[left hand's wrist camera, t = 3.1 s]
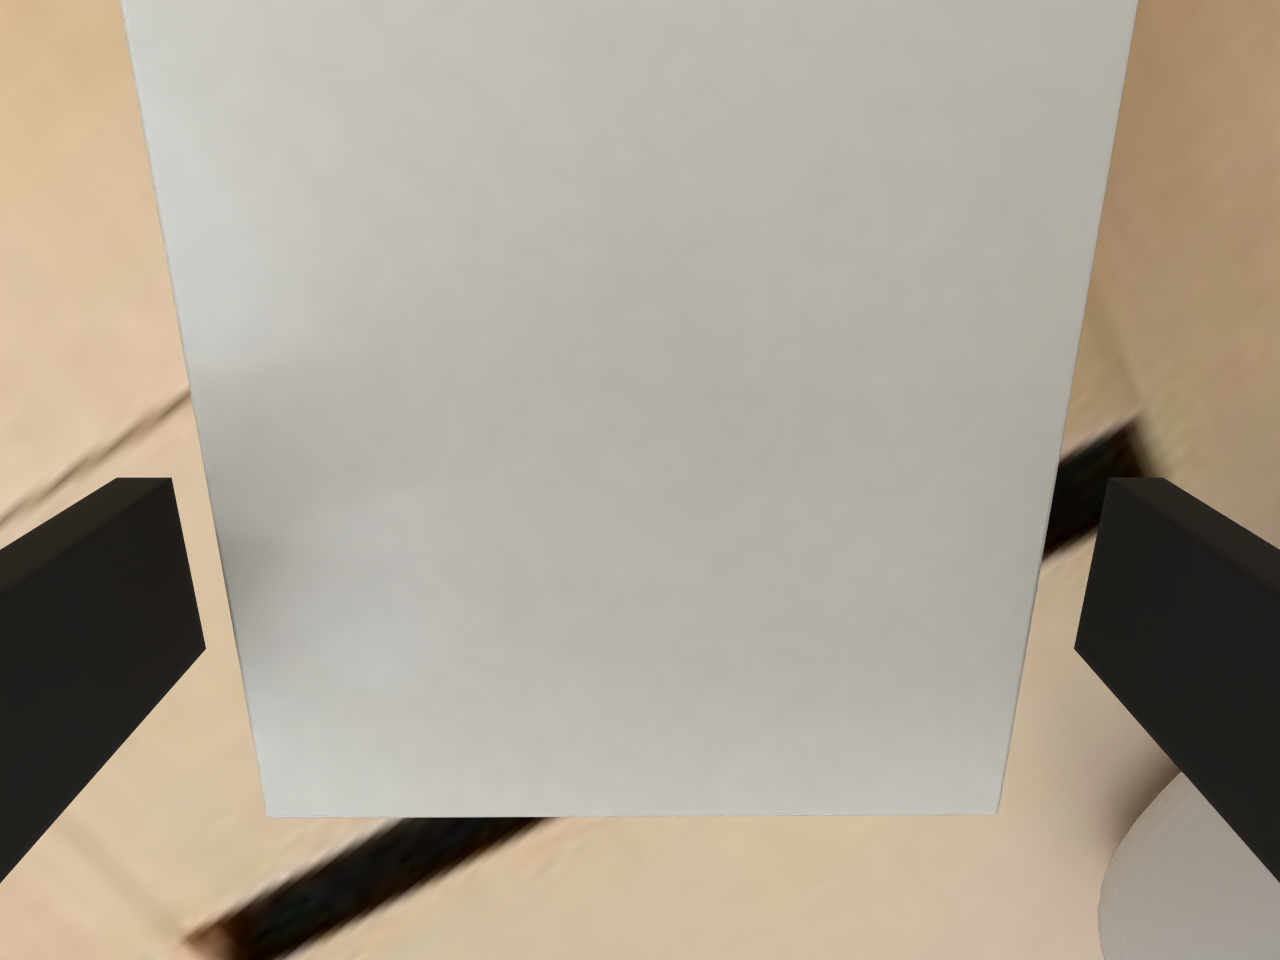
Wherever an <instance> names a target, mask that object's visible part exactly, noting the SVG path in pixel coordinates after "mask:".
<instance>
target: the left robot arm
mask: <svg viewBox="0 0 1280 960" xmlns="http://www.w3.org/2000/svg"><path fill="white" fill-rule="evenodd" d="M205 649H206V647H205V642H204V637H203V632H202V627H201V622H200V617H199V612H198V607H197V602H196V597H195V592H194V587H193V582H192V577H191V572H190V567H189V562H188V557H187V552H186V547H185V542H184V537H183V533H182V528H181V523H180V518H179V513H178V508H177V503H176V498H175V493H174V488H173V483H172V478H116V479H114V480H112V481H111V482H109V483H107V484H106V485H104V486H103V487H101V488H99V489H98V490H96V491H95V492H93V493H91V494H90V495H88V496H86V497H85V498H83V499H82V500H80V501H78V502H77V503H75V504H74V505H72V506H70V507H69V508H67V509H65V510H64V511H62V512H61V513H59V514H57V515H56V516H54V517H53V518H51V519H49V520H48V521H46V522H44V523H43V524H41V525H40V526H38V527H36V528H35V529H33V530H32V531H30V532H28V533H27V534H25V535H23V536H22V537H20V538H19V539H17V540H15V541H14V542H12V543H11V544H9V545H7V546H6V547H4V548H2V549H1V550H0V883H1V882H2V881H3V879H4V878H5V877H6V876H7V875H8V874H9V873H10V871H11V870H12V869H13V868H14V867H15V866H16V865H17V863H18V862H19V861H20V860H21V859H22V858H23V857H24V855H25V854H26V853H27V852H28V851H29V850H30V849H31V848H32V846H33V845H34V844H35V843H36V842H37V841H38V840H39V838H40V837H41V836H42V835H43V834H44V833H45V832H46V830H47V829H48V828H49V827H50V826H51V825H52V824H53V822H54V821H55V820H56V819H57V818H58V817H59V816H60V814H61V813H62V812H63V811H64V810H65V809H66V808H67V806H68V805H69V804H70V803H71V802H72V801H73V800H74V798H75V797H76V796H77V795H78V794H79V793H80V792H81V791H82V789H83V788H84V787H85V786H86V785H87V784H88V783H89V781H90V780H91V779H92V778H93V777H94V776H95V775H96V773H97V772H98V771H99V770H100V769H101V768H102V767H103V765H104V764H105V763H106V762H107V761H108V760H109V759H110V757H111V756H112V755H113V754H114V753H115V752H116V751H117V749H118V748H119V747H120V746H121V745H122V744H123V743H124V741H125V740H126V739H127V738H128V737H129V736H130V735H131V734H132V732H133V731H134V730H135V729H136V728H137V727H138V726H139V724H140V723H141V722H142V721H143V720H144V719H145V718H146V716H147V715H148V714H149V713H150V712H151V711H152V710H153V708H154V707H155V706H156V705H157V704H158V703H159V702H160V700H161V699H162V698H163V697H164V696H165V695H166V694H167V692H168V691H169V690H170V689H171V688H172V687H173V686H174V684H175V683H176V682H177V681H178V680H179V679H180V678H181V677H182V675H183V674H184V673H185V672H186V671H187V670H188V669H189V667H190V666H191V665H192V664H193V663H194V662H195V661H196V659H197V658H198V657H199V656H200V655H201V654H202V653H203V651H204V650H205ZM1074 649H1075V650H1076V651H1077V653H1078V654H1079V655H1080V656H1081V657H1082V658H1083V659H1084V661H1085V662H1086V663H1087V664H1088V665H1089V666H1090V667H1091V669H1092V670H1093V671H1094V672H1095V673H1096V674H1097V675H1098V677H1099V678H1100V679H1101V680H1102V681H1103V682H1104V683H1105V684H1106V686H1107V687H1108V688H1109V689H1110V690H1111V691H1112V692H1113V694H1114V695H1115V696H1116V697H1117V698H1118V699H1119V700H1120V702H1121V703H1122V704H1123V705H1124V706H1125V707H1126V708H1127V710H1128V711H1129V712H1130V713H1131V714H1132V715H1133V716H1134V718H1135V719H1136V720H1137V721H1138V722H1139V723H1140V724H1141V726H1142V727H1143V728H1144V729H1145V730H1146V731H1147V732H1148V734H1149V735H1150V736H1151V737H1152V738H1153V739H1154V740H1155V741H1156V743H1157V744H1158V745H1159V746H1160V747H1161V748H1162V749H1163V751H1164V752H1165V753H1166V754H1167V755H1168V756H1169V757H1170V759H1171V760H1172V761H1173V762H1174V763H1175V764H1176V765H1177V767H1178V768H1179V769H1180V770H1181V771H1182V772H1183V773H1184V775H1185V776H1186V777H1187V778H1188V779H1189V780H1190V781H1191V783H1192V784H1193V785H1194V786H1195V787H1196V788H1197V789H1198V791H1199V792H1200V793H1201V794H1202V795H1203V796H1204V797H1205V798H1206V800H1207V801H1208V802H1209V803H1210V804H1211V805H1212V806H1213V808H1214V809H1215V810H1216V811H1217V812H1218V813H1219V814H1220V816H1221V817H1222V818H1223V819H1224V820H1225V821H1226V822H1227V824H1228V825H1229V826H1230V827H1231V828H1232V829H1233V830H1234V832H1235V833H1236V834H1237V835H1238V836H1239V837H1240V838H1241V840H1242V841H1243V842H1244V843H1245V844H1246V845H1247V846H1248V848H1249V849H1250V850H1251V851H1252V852H1253V853H1254V854H1255V855H1256V857H1257V858H1258V859H1259V860H1260V861H1261V862H1262V863H1263V865H1264V866H1265V867H1266V868H1267V869H1268V870H1269V871H1270V873H1271V874H1272V875H1273V876H1274V877H1275V878H1276V879H1277V881H1278V882H1279V883H1280V550H1279V549H1278V548H1276V547H1274V546H1273V545H1271V544H1269V543H1268V542H1266V541H1265V540H1263V539H1261V538H1260V537H1258V536H1257V535H1255V534H1253V533H1252V532H1250V531H1248V530H1247V529H1245V528H1244V527H1242V526H1240V525H1239V524H1237V523H1236V522H1234V521H1232V520H1231V519H1229V518H1227V517H1226V516H1224V515H1223V514H1221V513H1219V512H1218V511H1216V510H1215V509H1213V508H1211V507H1210V506H1208V505H1206V504H1205V503H1203V502H1202V501H1200V500H1198V499H1197V498H1195V497H1194V496H1192V495H1190V494H1189V493H1187V492H1185V491H1184V490H1182V489H1181V488H1179V487H1177V486H1176V485H1174V484H1173V483H1171V482H1169V481H1168V480H1166V479H1164V478H1108V483H1107V488H1106V493H1105V498H1104V503H1103V508H1102V513H1101V518H1100V523H1099V528H1098V533H1097V537H1096V542H1095V547H1094V552H1093V557H1092V562H1091V567H1090V572H1089V577H1088V582H1087V587H1086V592H1085V597H1084V602H1083V607H1082V612H1081V617H1080V622H1079V627H1078V632H1077V637H1076V642H1075V647H1074Z"/></svg>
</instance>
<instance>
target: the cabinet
mask: <svg viewBox="0 0 1280 960" xmlns="http://www.w3.org/2000/svg"><path fill="white" fill-rule="evenodd" d="M120 4H121V10H122V15H123V21H124V27H125V32H126V38H127V43H128V49H129V54H130V60H131V65H132V71H133V76H134V82H135V87H136V93H137V99H138V104H139V110H140V115H141V121H142V126H143V132H144V137H145V143H146V148H147V154H148V160H149V165H150V171H151V176H152V182H153V187H154V193H155V198H156V204H157V209H158V215H159V220H160V226H161V232H162V237H163V243H164V248H165V254H166V259H167V265H168V270H169V276H170V281H171V287H172V293H173V298H174V304H175V309H176V315H177V320H178V326H179V331H180V337H181V342H182V348H183V353H184V359H185V365H186V370H187V376H188V381H189V387H190V392H191V398H192V403H193V409H194V414H195V420H196V425H197V431H198V437H199V442H200V448H201V453H202V459H203V464H204V470H205V475H206V481H207V486H208V492H209V498H210V503H211V509H212V514H213V520H214V525H215V531H216V536H217V542H218V547H219V553H220V558H221V564H222V570H223V575H224V581H225V586H226V592H227V597H228V603H229V608H230V614H231V619H232V625H233V630H234V636H235V642H236V647H237V653H238V658H239V664H240V669H241V675H242V680H243V686H244V691H245V697H246V703H247V708H248V714H249V719H250V725H251V730H252V736H253V741H254V747H255V752H256V758H257V763H258V769H259V775H260V780H261V786H262V791H263V797H264V802H265V808H266V813H267V816H268V817H271V818H351V817H609V816H867V815H995V814H997V813H998V810H999V804H1000V799H1001V793H1002V787H1003V781H1004V775H1005V770H1006V764H1007V758H1008V752H1009V746H1010V741H1011V735H1012V729H1013V723H1014V718H1015V712H1016V706H1017V700H1018V694H1019V689H1020V683H1021V677H1022V671H1023V665H1024V660H1025V654H1026V648H1027V642H1028V637H1029V631H1030V625H1031V619H1032V613H1033V608H1034V602H1035V596H1036V590H1037V585H1038V579H1039V573H1040V567H1041V561H1042V556H1043V550H1044V544H1045V538H1046V532H1047V527H1048V521H1049V515H1050V509H1051V504H1052V498H1053V492H1054V486H1055V480H1056V475H1057V469H1058V463H1059V457H1060V451H1061V446H1062V440H1063V434H1064V428H1065V423H1066V417H1067V411H1068V405H1069V399H1070V394H1071V388H1072V382H1073V376H1074V370H1075V365H1076V359H1077V353H1078V347H1079V342H1080V336H1081V330H1082V324H1083V318H1084V313H1085V307H1086V301H1087V295H1088V290H1089V284H1090V278H1091V272H1092V266H1093V261H1094V255H1095V249H1096V243H1097V237H1098V232H1099V226H1100V220H1101V214H1102V209H1103V203H1104V197H1105V191H1106V185H1107V180H1108V174H1109V168H1110V162H1111V156H1112V151H1113V145H1114V139H1115V133H1116V128H1117V122H1118V116H1119V110H1120V104H1121V99H1122V93H1123V87H1124V81H1125V76H1126V70H1127V64H1128V58H1129V52H1130V47H1131V41H1132V35H1133V29H1134V23H1135V18H1136V12H1137V6H1138V0H120Z"/></svg>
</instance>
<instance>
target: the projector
mask: <svg viewBox="0 0 1280 960" xmlns="http://www.w3.org/2000/svg"><path fill="white" fill-rule="evenodd" d="M1098 929H1099V937H1100V945H1101V949H1102V953H1103V957H1104V960H1280V883H1279V882H1278V881H1277V879H1276V878H1275V877H1274V876H1273V875H1272V874H1271V873H1270V871H1269V870H1268V869H1267V868H1266V867H1265V866H1264V865H1263V863H1262V862H1261V861H1260V860H1259V859H1258V858H1257V857H1256V855H1255V854H1254V853H1253V852H1252V851H1251V850H1250V849H1249V848H1248V846H1247V845H1246V844H1245V843H1244V842H1243V841H1242V840H1241V838H1240V837H1239V836H1238V835H1237V834H1236V833H1235V832H1234V830H1233V829H1232V828H1231V827H1230V826H1229V825H1228V824H1227V822H1226V821H1225V820H1224V819H1223V818H1222V817H1221V816H1220V814H1219V813H1218V812H1217V811H1216V810H1215V809H1214V808H1213V806H1212V805H1211V804H1210V803H1209V802H1208V801H1207V800H1206V798H1205V797H1204V796H1203V795H1202V794H1201V793H1200V792H1199V791H1198V789H1197V788H1196V787H1195V786H1194V785H1193V784H1192V783H1191V781H1190V780H1189V779H1188V778H1187V777H1186V776H1185V775H1184V773H1183V772H1182V771H1181V772H1180V773H1179V774H1178V775H1177V776H1176V777H1175V778H1174V779H1173V780H1172V781H1171V782H1170V783H1169V784H1168V785H1167V786H1166V787H1165V788H1164V789H1163V790H1162V791H1161V792H1160V793H1159V795H1158V796H1157V797H1156V798H1155V799H1154V800H1153V801H1152V803H1151V804H1150V805H1149V806H1148V807H1147V808H1146V809H1145V811H1144V812H1143V813H1142V814H1141V815H1140V816H1139V818H1138V819H1137V820H1136V821H1135V823H1134V824H1133V826H1132V827H1131V829H1130V830H1129V831H1128V833H1127V834H1126V836H1125V837H1124V839H1123V840H1122V842H1121V843H1120V845H1119V846H1118V848H1117V849H1116V851H1115V853H1114V855H1113V857H1112V859H1111V862H1110V864H1109V866H1108V868H1107V871H1106V874H1105V877H1104V880H1103V883H1102V886H1101V893H1100V901H1099V907H1098Z"/></svg>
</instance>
